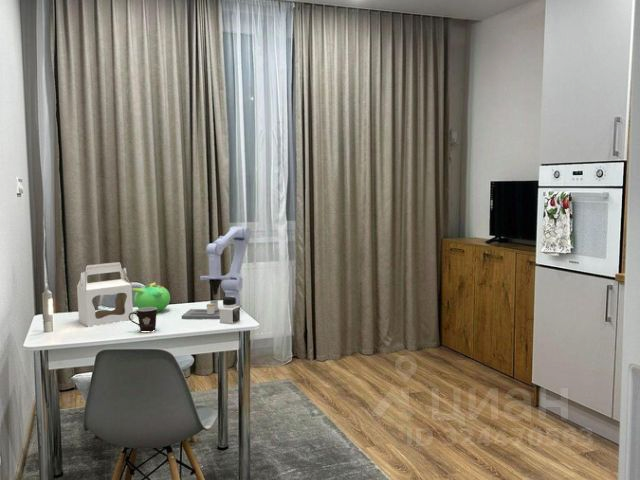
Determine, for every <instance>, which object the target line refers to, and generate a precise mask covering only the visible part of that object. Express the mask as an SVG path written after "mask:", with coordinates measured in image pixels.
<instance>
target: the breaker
mask: <svg viewBox="0 0 640 480" xmlns="http://www.w3.org/2000/svg"><path fill="white" fill-rule="evenodd" d="M209 304H215V311H217V310H218V309H219V300H211V301H210V302H209Z"/></svg>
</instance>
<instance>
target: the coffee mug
mask: <svg viewBox="0 0 640 480" xmlns="http://www.w3.org/2000/svg"><path fill="white" fill-rule="evenodd" d="M157 313H158V311H157V308H156V307H143V308H137V309H136V312H134V311H133V312H132V313H130V314H129V319H130V315H131V314H133V315H136V317H137V318H138V322H136V321H134V320H131V319H130V320H129V321H131V323H134V324H135V325H137V326H138V327H139V330H140V332H141V331H153V330H155V331H156V325H157V315H158V314H157Z"/></svg>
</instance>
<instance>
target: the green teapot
mask: <svg viewBox="0 0 640 480" xmlns="http://www.w3.org/2000/svg"><path fill="white" fill-rule="evenodd" d="M132 292H135V293H134V295H133V302H134V305H135V307H136V308H137V309H139V308H143V307H156V308H157V312H160V311H163V310H164V309H166V308H167V307H168V306H169V304H170V302H171V295H170V292H169V290H168V289H167V288H165V287H164V286H162V285H158V284H156V282H152V283H150V284H148V285H145V286H144V285H143V286H141V287H140V288H136V287H135V288H134V287H132Z"/></svg>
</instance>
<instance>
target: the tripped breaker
mask: <svg viewBox="0 0 640 480" xmlns="http://www.w3.org/2000/svg"><path fill="white" fill-rule="evenodd" d="M206 309H207V314H214V313H215V304H211V303H207V304H206Z"/></svg>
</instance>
